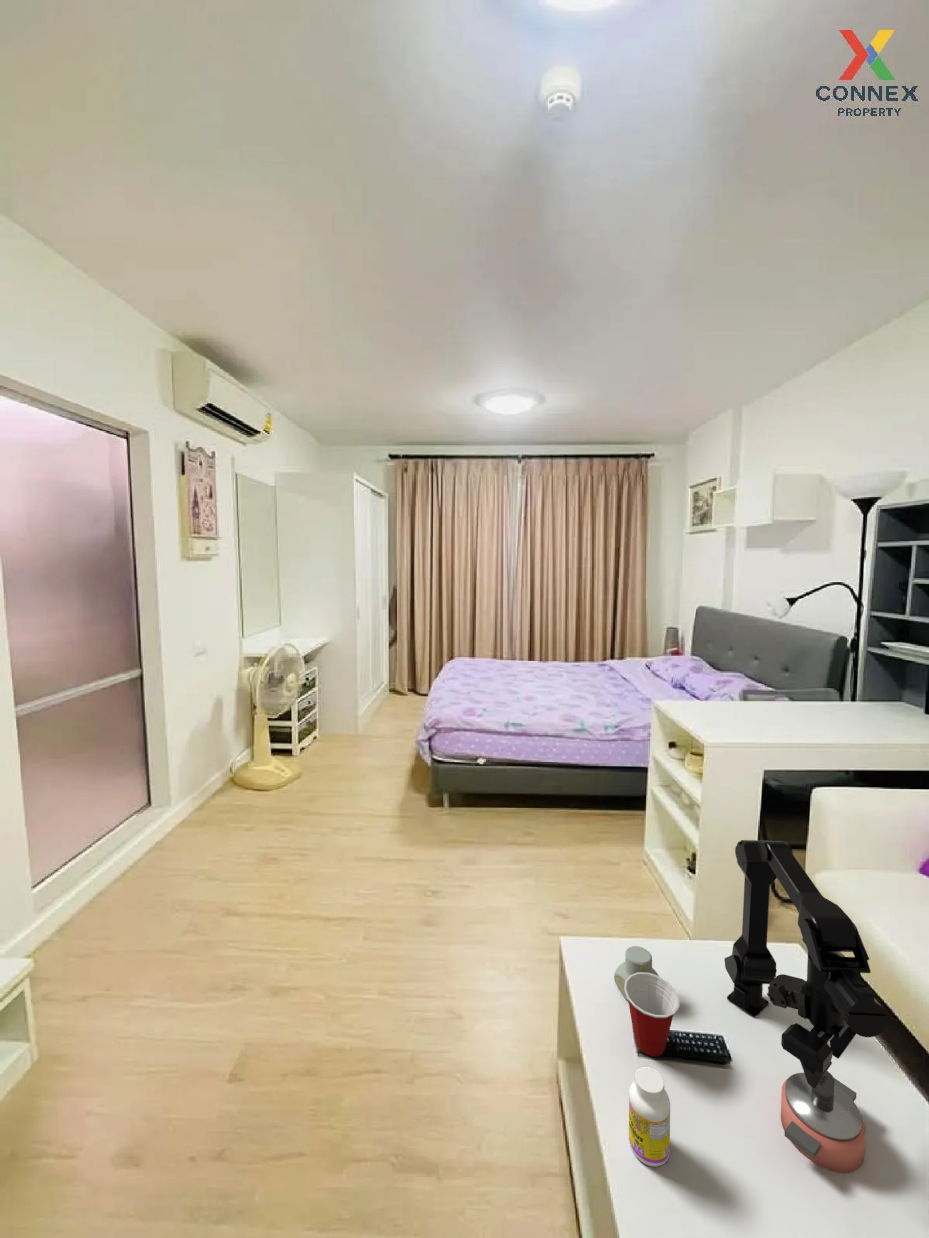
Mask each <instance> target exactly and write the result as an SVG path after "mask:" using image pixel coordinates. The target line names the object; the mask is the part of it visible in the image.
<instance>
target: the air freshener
mask: <svg viewBox="0 0 929 1238" xmlns="http://www.w3.org/2000/svg"><path fill="white" fill-rule="evenodd" d="M624 960H625V961H624V962H622V963H620V964H619V965H618V966H617V968H615V971H614V973H613V979H614V980H613V981H614V983H615V986H616V987H617V989H618V991H619V992H620V995H622V997H624V999H625V1000H627V1001H628V999H627V996H626V993H625V990H624V986H625V981H626V979H627V978H628V977H629V976H630V975H632V974H635V973H638V972H645V973H651V974H654V975H657V976H659V977H660V975H659V974H658V972H657V971H656V970H655V969H654V968H653V956H652V954H651V952H650V951H648V949H647V948H644V947H641V946H639V945H638V946H637V945H633V946H632V945H631V946H629V947H628V948H626V950H625V959H624Z"/></svg>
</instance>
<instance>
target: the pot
mask: <svg viewBox="0 0 929 1238" xmlns="http://www.w3.org/2000/svg"><path fill="white" fill-rule="evenodd" d="M834 1080H835V1084H836V1085H837V1086H838V1087H840V1088H841V1089H842V1090H843V1091H844V1092H846V1093H847V1094H848V1095H849V1097H850V1098H851V1099H852V1100H853V1101H854V1102H855V1101H856V1099H857V1092H856V1091H854V1090H853V1089H851V1088H850V1087H849V1086H847V1085H845V1084H844V1082H843V1083H842V1082H841V1081H840V1080H838V1079H837V1078H836V1077H834ZM786 1081H787V1079H785V1081H784V1082H783V1084H782V1087H781V1099H780V1121H781V1122H780V1123H781V1125H782V1129H783V1131H784V1134H783V1135H784V1137H786V1138H787V1139H788V1140H789V1141H790V1142H791V1143H792V1145H793V1146H794V1147H795V1148H796V1150H798V1151H799V1152H800V1153H801V1154H802V1155H803V1156H804V1157H805V1158H807V1159H808V1160H809V1161H810V1162H813V1163H814V1164H816V1165H817V1166H820V1168H823V1169H825V1170H828V1171H832V1172H835V1173H839V1174H849V1173H854V1172H856V1171H858V1170H859V1169H860V1168H861V1167H862V1165H863V1163H864V1159H865V1143H866V1141H865V1139H866V1124H865V1121H864V1117H863V1116H862V1113H861V1112H860V1114H861V1118H862V1129H861V1133H860V1135H859V1136H858V1137H857V1138H856V1139H855V1140H852V1141H848V1142H840V1141H834V1140H831V1139H828V1138H825V1137H823V1136H821V1135H819V1134H817V1133H815V1132H814V1131H812V1130H811V1129H809V1128H808V1127H807V1126H806V1125H804V1124H803V1123H802V1122H801V1121H800V1120H799V1119H798V1118H797V1117H796V1116H795V1114H794V1113H793V1112H792V1110H791V1109H790V1107H789V1105H788V1103H787V1100H786V1097H785V1084H786Z"/></svg>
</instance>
